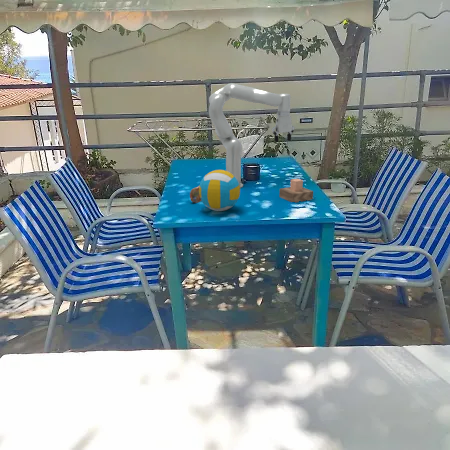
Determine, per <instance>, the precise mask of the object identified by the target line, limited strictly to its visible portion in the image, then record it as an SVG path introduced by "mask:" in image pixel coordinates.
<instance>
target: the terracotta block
mask: <svg viewBox="0 0 450 450" xmlns="http://www.w3.org/2000/svg"><path fill="white" fill-rule="evenodd" d="M303 183H304V180H303V179H300V178H293V179H290V186H289V187H290V190H293V191H302V187H303ZM303 188H304V187H303Z"/></svg>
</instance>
